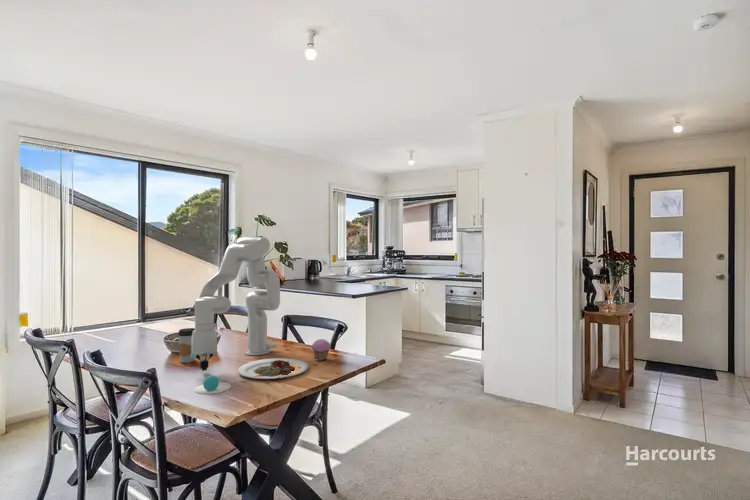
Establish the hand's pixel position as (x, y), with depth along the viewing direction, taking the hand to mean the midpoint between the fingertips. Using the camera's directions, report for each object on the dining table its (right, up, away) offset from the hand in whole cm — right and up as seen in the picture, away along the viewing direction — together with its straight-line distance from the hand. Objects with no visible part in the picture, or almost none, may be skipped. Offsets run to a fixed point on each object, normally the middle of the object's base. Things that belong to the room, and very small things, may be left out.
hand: (204, 369), depth 180 cm
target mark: (+11, -2, -19) cm, 22 cm away
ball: (+11, +1, -22) cm, 24 cm away
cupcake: (+47, -2, +22) cm, 52 cm away
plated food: (+29, -2, +4) cm, 29 cm away
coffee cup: (-16, -2, +19) cm, 24 cm away
